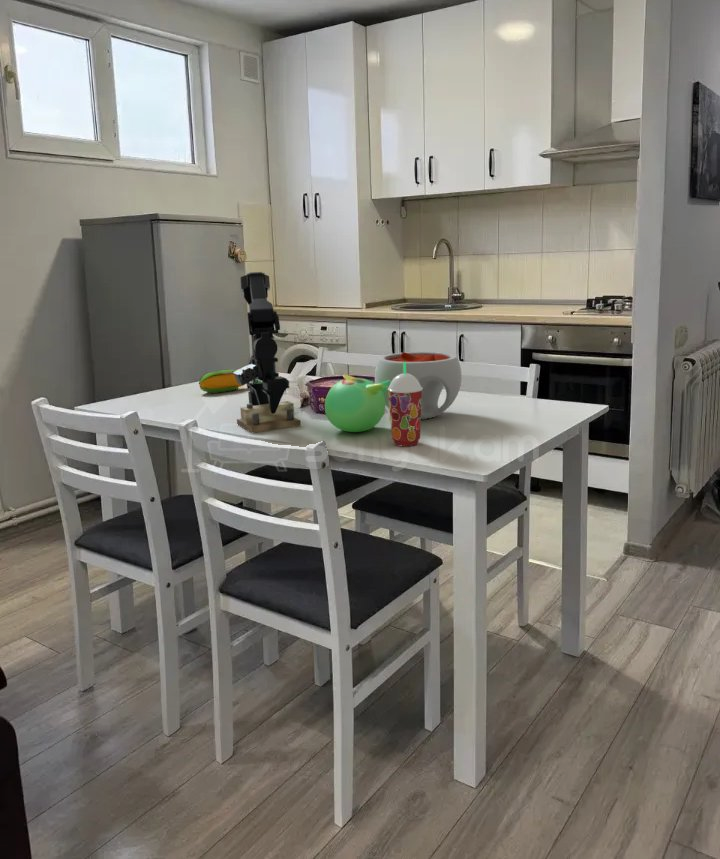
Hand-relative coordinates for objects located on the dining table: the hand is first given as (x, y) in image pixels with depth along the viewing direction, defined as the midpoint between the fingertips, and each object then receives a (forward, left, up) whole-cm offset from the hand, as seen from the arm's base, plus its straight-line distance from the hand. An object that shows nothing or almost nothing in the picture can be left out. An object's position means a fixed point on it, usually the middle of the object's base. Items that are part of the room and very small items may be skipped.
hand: (267, 410), depth 209 cm
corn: (-8, -59, -4) cm, 60 cm away
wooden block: (0, 0, -2) cm, 3 cm away
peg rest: (0, 0, -4) cm, 4 cm away
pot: (-39, +16, -4) cm, 42 cm away
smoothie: (-20, +40, -4) cm, 45 cm away
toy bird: (-17, +21, -4) cm, 27 cm away
